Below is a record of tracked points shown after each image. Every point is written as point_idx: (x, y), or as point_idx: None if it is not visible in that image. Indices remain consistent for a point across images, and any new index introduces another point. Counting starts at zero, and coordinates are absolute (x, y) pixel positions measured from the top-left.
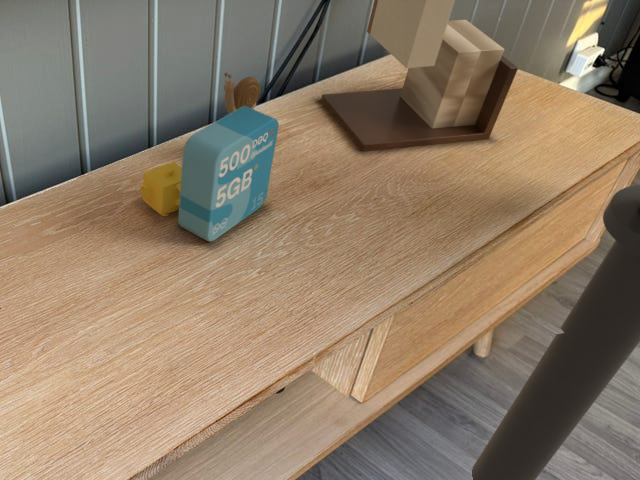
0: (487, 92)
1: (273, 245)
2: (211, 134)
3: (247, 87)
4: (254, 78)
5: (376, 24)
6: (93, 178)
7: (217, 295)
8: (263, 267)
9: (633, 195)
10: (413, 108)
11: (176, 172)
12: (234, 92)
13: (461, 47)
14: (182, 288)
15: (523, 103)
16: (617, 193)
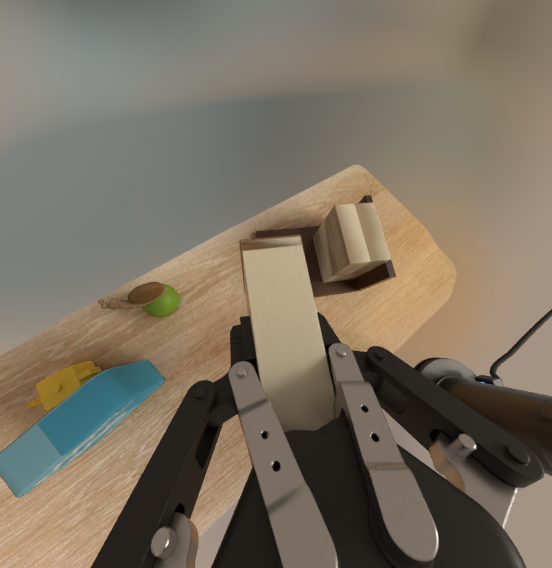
0: (368, 271)
1: (157, 435)
2: (20, 455)
3: (140, 297)
4: (147, 287)
5: (246, 300)
6: (31, 339)
7: (88, 511)
8: (140, 468)
9: (433, 372)
10: (317, 256)
11: (67, 384)
12: (128, 299)
13: (355, 254)
14: (60, 503)
15: (396, 245)
16: (424, 370)
